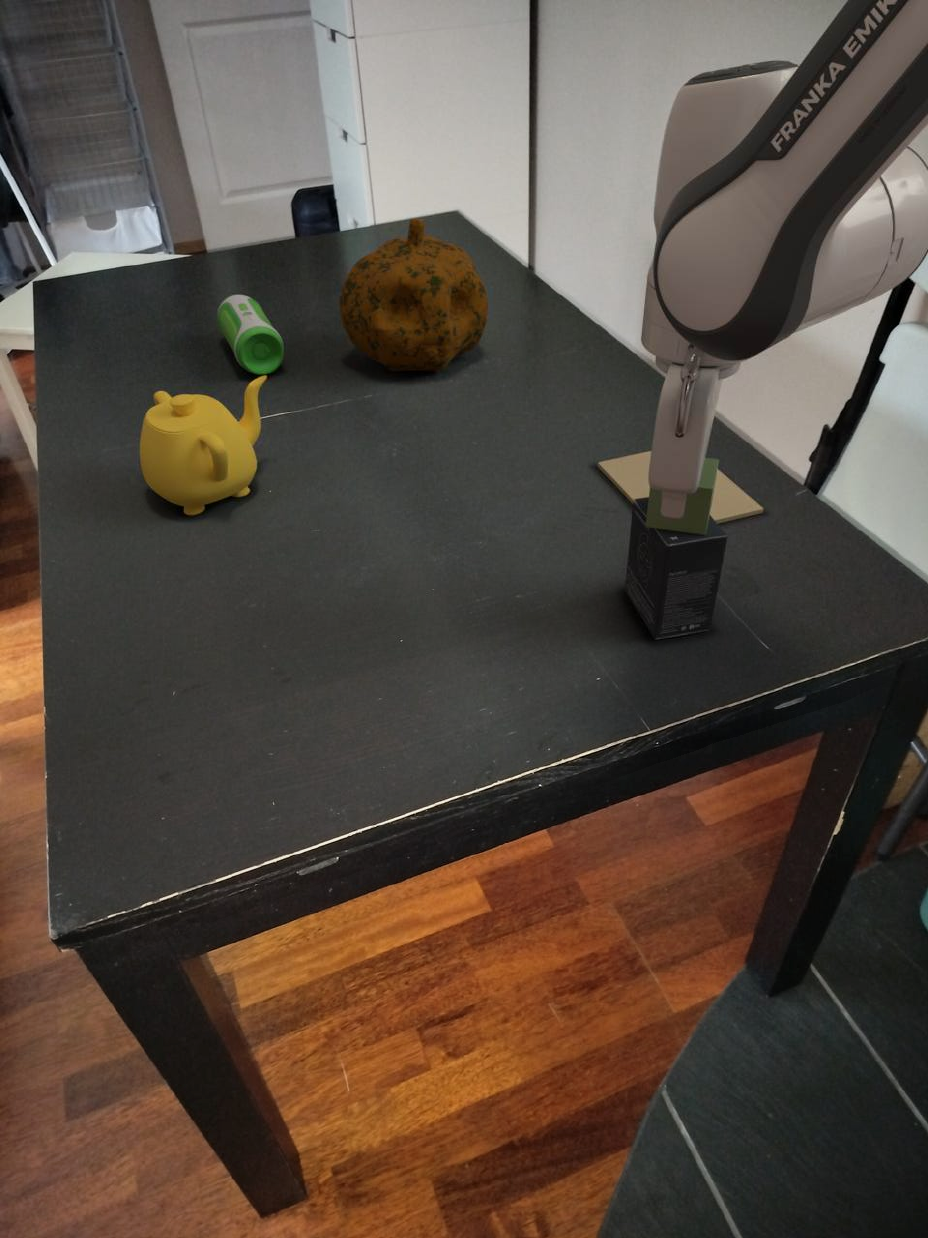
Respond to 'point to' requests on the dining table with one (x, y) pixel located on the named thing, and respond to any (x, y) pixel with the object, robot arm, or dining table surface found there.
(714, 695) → the dining table surface
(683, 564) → the box
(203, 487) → the teapot
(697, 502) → the green block
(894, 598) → the dining table surface
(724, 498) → the mat
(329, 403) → the dining table surface
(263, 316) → the speaker
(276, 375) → the dining table surface
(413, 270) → the decorative pumpkin
